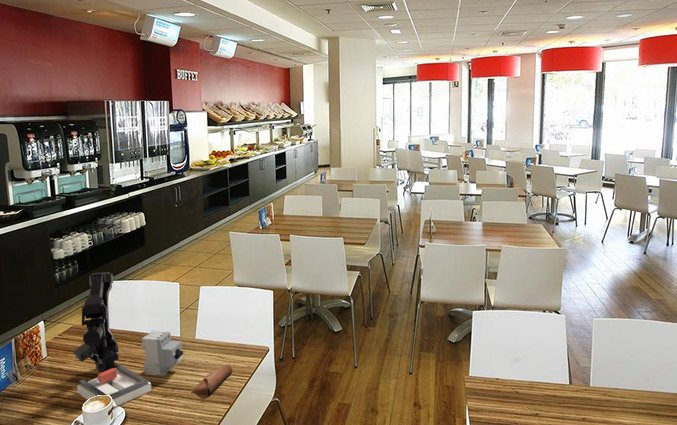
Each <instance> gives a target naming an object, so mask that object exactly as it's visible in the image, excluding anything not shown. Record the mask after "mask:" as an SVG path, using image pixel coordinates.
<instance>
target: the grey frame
mask: <svg viewBox="0 0 677 425" xmlns="http://www.w3.org/2000/svg"><path fill="white" fill-rule="evenodd" d="M116 370H118V371H120V372H122V373H123V374H125V375H127V376H129V377H130V378H132V379H134V380H136V381H137V382H138V383H136V384H134V385H131V386H129V387H127V388H124V389H122V390H120V391H117V392H115V393H113V394H111V395H110V396H111V397H112V399H113V400H114V399H116V398H118V397H121V396H123V395H125V394H127V393H130V392H132V391H134V390H136V389H139V388H141V387H143V386H145V385H148V382H149V380H148V379H147V378H144V377H142V376H141V375H140V374H138V373H135V372H133V371H132V370H130V369H129V368H126V367H125V366H123V365H121V364H118V366H117V367H116ZM78 383H79V385H81V386H82V387H84V388H85V389H87V390H88V391H90V392H91V393H93V394H94V395H96V396H97V395H107V394H105V393H104V392H102V391H100V390H99V389H97V388H96V387H94V386H93V385H91V384H90V383H88V381H87V380H85V379H81V380H79V382H78Z"/></svg>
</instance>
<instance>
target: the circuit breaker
mask: <svg viewBox="0 0 677 425" xmlns="http://www.w3.org/2000/svg"><path fill="white" fill-rule="evenodd" d="M141 340H142V342H141V348H142V349H143V350H144V355H145V362H144V363H143V368H144V372H145V373H144V374H145V375H152V376H163V377H164V376H165V375H166V374H168V372H169V371H170V370H172V368H175V367H176V366H177V364H179V363H180V362H181V361H182V360H183V358H184V357H183V354H184V351H183V347H182V341H179V340H172V338H171V331H162V330H161V331H159V330H151V331H150V332H149V333H147V334H146V335H145V336H143V337H142V338H141Z"/></svg>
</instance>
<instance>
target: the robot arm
mask: <svg viewBox="0 0 677 425" xmlns="http://www.w3.org/2000/svg"><path fill="white" fill-rule="evenodd" d="M88 278H89V286H90V289H89V297H88V298H86V299H85V300H84V303H83V306H82V307H81V326H86V329H85V331H84V334H83V335H82V336H83V337H82V341H83V343H82V344H81V345H80V346H79V347H77V348H76V349H75V350H73V352H72V353H73V354H74V356H75V357H76V360H79V361H80V362H85V361H86V360H87V359H90V360H92V361H93V362H94V364H95V368H96V369H97V371H98V374H100V373H102V372H105V371H107V370H110V369H112V368H114V369H117V366H118V365H119V364H117V363H116V361H119V358H120V357H119V345H118V342H117V341H116V338H115V337H114V334H113V333H112V332H111V330H110V316H109V314H110V312H109V294H110V292H111V290H112V289H113V284H114V275H113V273H110V272H109V271H108V272H96V273H91V275H89V276H88Z"/></svg>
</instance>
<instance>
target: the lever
mask: <svg viewBox="0 0 677 425" xmlns="http://www.w3.org/2000/svg"><path fill="white" fill-rule="evenodd" d="M116 370H117V369H116V368H112V369H110V370H107V371H105V372H102V373H97V378H98V382H100V383H101V384H102V383H105V382H106V383H107V384H109V385H111V380H112V379H114V378H117V372H116Z"/></svg>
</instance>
